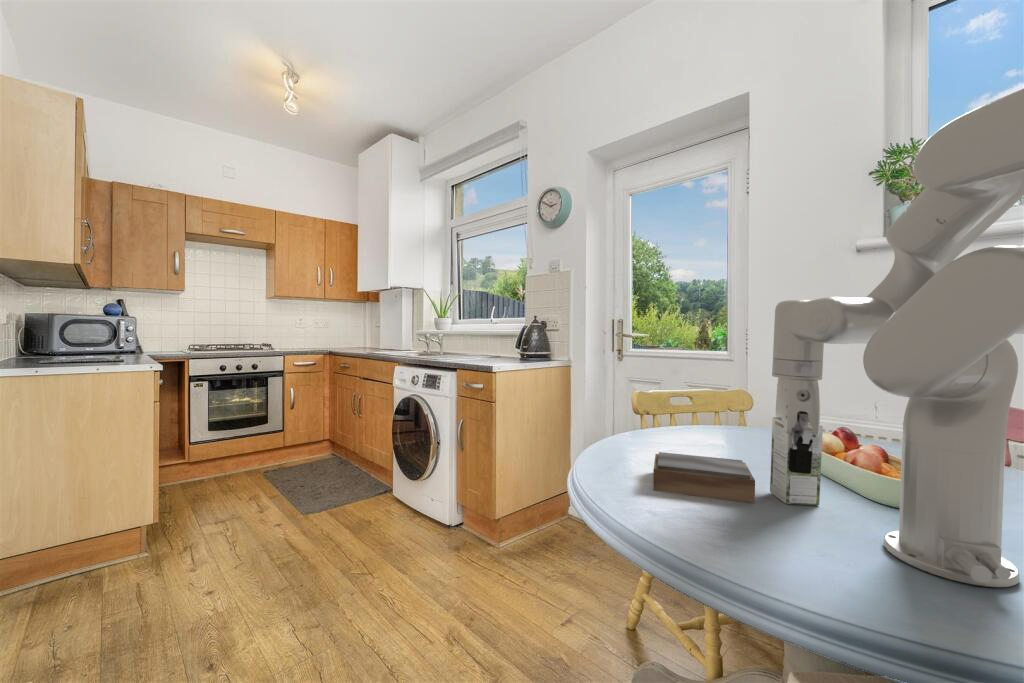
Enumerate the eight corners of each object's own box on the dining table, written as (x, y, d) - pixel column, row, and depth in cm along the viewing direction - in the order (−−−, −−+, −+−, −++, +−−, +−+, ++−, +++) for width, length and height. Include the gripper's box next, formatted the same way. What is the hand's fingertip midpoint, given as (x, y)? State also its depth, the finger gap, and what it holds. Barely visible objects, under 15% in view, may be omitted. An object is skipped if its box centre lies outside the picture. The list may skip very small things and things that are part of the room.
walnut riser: (754, 503, 76) (755, 477, 76) (653, 490, 82) (653, 466, 82) (744, 482, 87) (745, 459, 87) (655, 472, 93) (655, 450, 92)
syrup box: (801, 494, 81) (803, 416, 80) (821, 507, 75) (823, 423, 75) (769, 492, 81) (771, 415, 81) (786, 505, 76) (788, 422, 75)
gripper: (839, 376, 68) (833, 483, 69) (807, 365, 84) (802, 452, 85) (784, 373, 71) (779, 476, 72) (763, 363, 87) (759, 448, 88)
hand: (792, 463), depth 79 cm, fingers open, 9 cm apart
